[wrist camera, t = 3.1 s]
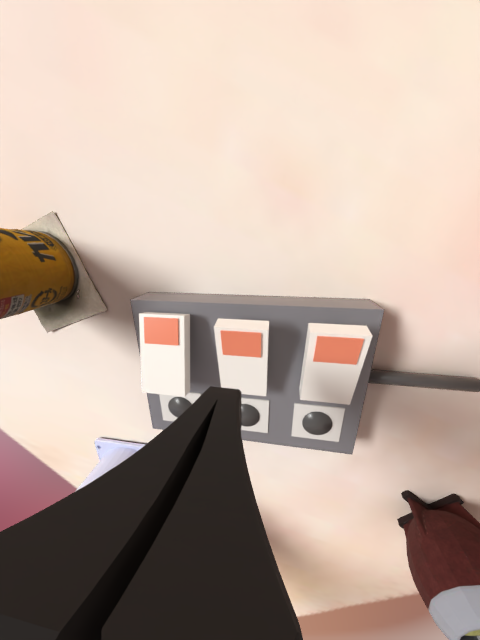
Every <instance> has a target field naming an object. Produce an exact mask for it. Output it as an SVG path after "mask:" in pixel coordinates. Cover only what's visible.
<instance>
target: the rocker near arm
mask: <svg viewBox="0 0 480 640" xmlns="http://www.w3.org/2000/svg"><path fill="white" fill-rule="evenodd" d="M139 329H140V357H141V386H142V392H144V393H153V394H162V395H172V396H181V397H185V396H186V395H187V394H188V392H189V391H190V314H179V313H157V312H145V313H139Z"/></svg>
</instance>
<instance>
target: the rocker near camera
mask: <svg viewBox="0 0 480 640" xmlns="http://www.w3.org/2000/svg"><path fill="white" fill-rule="evenodd" d="M371 339H372V334H371V332H370V331H369V329H368V327H367V326H363V325H342V324H322V323H308V330H307V337H306V344H305V351H304V358H303V365H302V372H301V379H300V386H299V392H300V400H307V401H317V402H327V403H337V404H347V405H350V403H351V400H352V397H353V394H354V391H355V388H356V385H357V382H358V379H359V375H360V372H361V369H362V366H363V363H364V360H365V357H366V354H367V351H368V348H369V345H370V342H371Z"/></svg>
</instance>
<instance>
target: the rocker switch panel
mask: <svg viewBox="0 0 480 640" xmlns="http://www.w3.org/2000/svg"><path fill="white" fill-rule="evenodd" d="M130 301H131V306H132V312H133V318H134V323H135V329H136V335H137V340H138V346H139V352H140V329H139V313H145V312H157V313H179V314H190V391H189V392H188V394H187V395H186V396H185V397H181V396H172V395H162V394H153V393H147V397H148V403H149V409H150V414H151V420H152V426H153V428H155V429H162V430H164V429H166V428H167V427H168V426H169V425H170V424H171V423H173V422H174V421H175V420H176V419H177V418H178V417H179V416H180V415H181V414H182V413H183V412H184V411H186V410H187V409H188V408H189V407H190V406H191V405H192V404H193V403H194V402H195V401H196V400H197V399H198V398H199V397H200V396H201V395H202V394H203V393H204V392H205V391H206V390H207V389H208V388H209V387H210V386H212V387H221V383H220V374H219V366H218V358H217V349H216V341H215V333H214V326H215V324H216V321H217V319H218V318H221V319H241V320H261V321H269V343H268V373H267V393H266V396H257V395H247V394H241V403H242V426H241V437H242V440H246V441H254V442H261V443H269V444H277V445H284V446H292V447H299V448H307V449H315V450H322V451H330V452H338V453H345V454H352V453H353V449H354V444H355V440H356V435H357V431H358V426H359V422H360V417H361V413H362V408H363V404H364V399H365V394H366V390H367V385H368V383H377V384H389V385H400V386H412V387H424V388H436V389H447V390H459V391H471V392H479V391H480V380H479V379H477V378H471V377H458V376H445V375H432V374H419V373H406V372H393V371H380V370H371V367H372V363H373V358H374V354H375V349H376V345H377V340H378V335H379V331H380V326H381V322H382V317H383V313H384V309H383V308H381V307H380V306H378V305H377V304H375V303H374V302H372V301H371V300H370V299H346V298H315V297H284V296H254V295H223V294H193V293H162V292H148V293H145V294H143V295H141V296H138V297H136V298H133V299H131V300H130ZM308 323H322V324H342V325H363V326H367V327H368V329H369V331H370V332H371V334H372V339H371V342H370V345H369V348H368V351H367V354H366V357H365V360H364V363H363V366H362V369H361V372H360V375H359V379H358V382H357V385H356V388H355V391H354V394H353V397H352V400H351V403H350V405H347V404H337V403H327V402H317V401H307V400H300V392H299V386H300V379H301V372H302V365H303V358H304V351H305V344H306V337H307V330H308ZM140 358H141V357H140Z"/></svg>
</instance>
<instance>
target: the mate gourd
mask: <svg viewBox="0 0 480 640" xmlns="http://www.w3.org/2000/svg"><path fill="white" fill-rule="evenodd" d="M401 494H402V497H403V498H404V499H405V500H406V501H407V502H408V503H409V505H410V508H411V511H412V513H410V514H407V515H405V516H403V517H401V518H399V519H397V520H398V522H399V526H400V527H402V528H404V531H405V535H406V540H407V542H406V544H407V556H408V562H409V568H410V571H411V574H412V577H413V580H414V582H415V585H416V587H417V589H418V591H419V593H420V595H421V597H422V599H423V601H424V602H425V605H426V606H427V608H428V610H429V612H430V614H431V616H432V618H433V620H434V621H435V623H436V625H437V626H438V627H439V628H440V630H441V631H442V632H443V633H444V635H445V636H446V637H447V638H448V639H449V640H480V523H479V522H478V521H477V520H476V519H475V518H474V517H473V516H472V515H471V514H470V513H469V512H468V511H467V510H466V509H465V508H464V507H463V506H462V505H461V504H463V503H464V502H463V501H462V500H461V499H460V498H459V496H457V495H456V494H452V495H449V496H447V497H445V498H443V499H440V500H438V501H436V502H434V503H431V504H426V503H424V502H423V501H422V500H420V499H419V498H418V497H417V496H415V495H414V494H413V493H411V492H410V491H408V490H407V491H404V492H402V493H401Z"/></svg>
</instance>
